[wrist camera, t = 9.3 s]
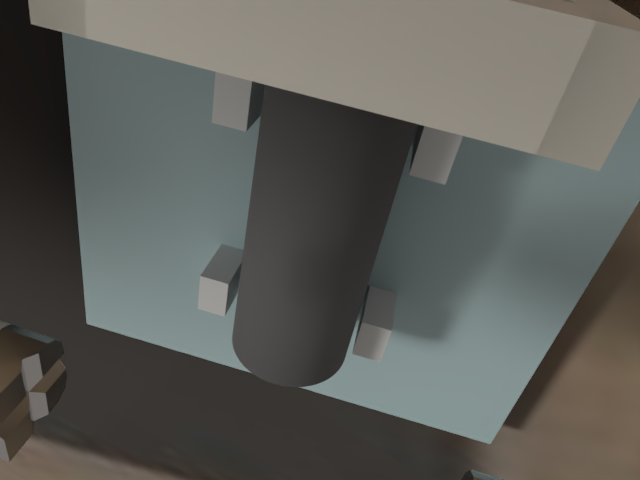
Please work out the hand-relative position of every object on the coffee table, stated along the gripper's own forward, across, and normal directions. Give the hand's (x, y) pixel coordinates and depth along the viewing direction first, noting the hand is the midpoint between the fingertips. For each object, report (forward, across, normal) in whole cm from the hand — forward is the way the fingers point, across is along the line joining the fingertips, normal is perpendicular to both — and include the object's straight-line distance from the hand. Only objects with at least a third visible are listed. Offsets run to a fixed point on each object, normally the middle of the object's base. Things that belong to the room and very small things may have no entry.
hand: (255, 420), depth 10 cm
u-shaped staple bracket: (+9, +1, -7) cm, 11 cm away
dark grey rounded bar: (+9, +1, 0) cm, 9 cm away
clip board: (+10, +1, +1) cm, 10 cm away
